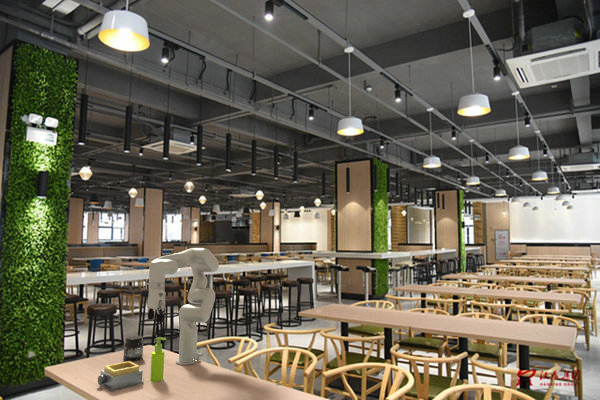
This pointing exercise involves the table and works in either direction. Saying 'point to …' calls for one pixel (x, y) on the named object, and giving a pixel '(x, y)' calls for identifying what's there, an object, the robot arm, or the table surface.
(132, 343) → the supplement container
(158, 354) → the soap dispenser
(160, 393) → the table surface
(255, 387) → the table surface
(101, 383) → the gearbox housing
